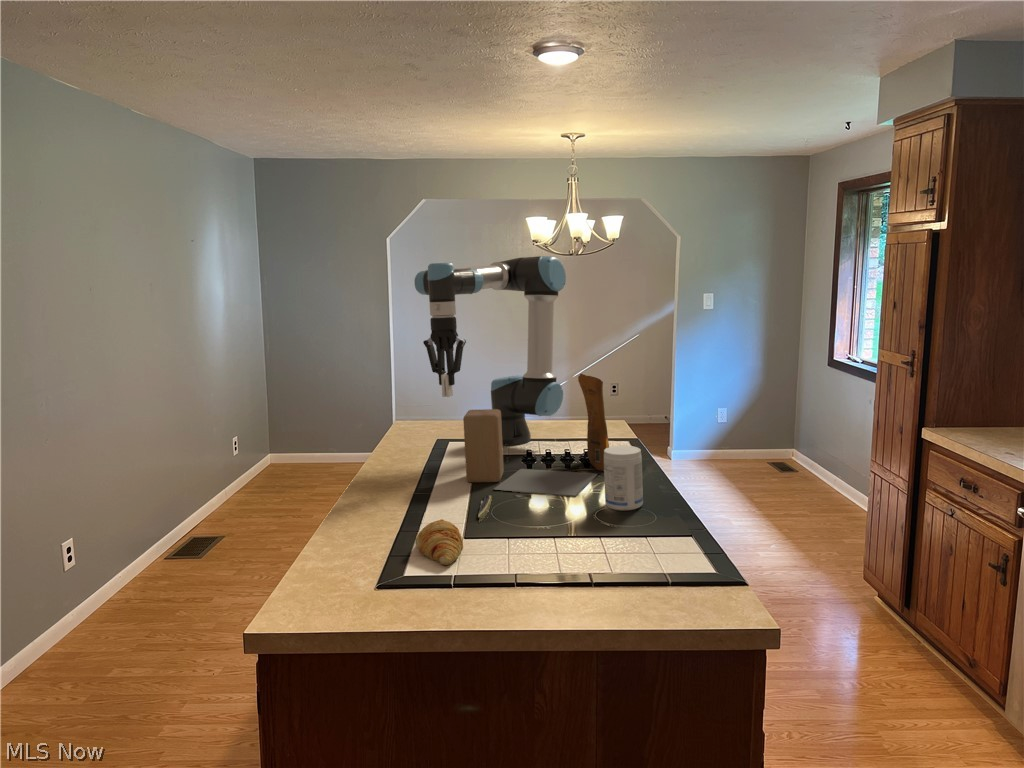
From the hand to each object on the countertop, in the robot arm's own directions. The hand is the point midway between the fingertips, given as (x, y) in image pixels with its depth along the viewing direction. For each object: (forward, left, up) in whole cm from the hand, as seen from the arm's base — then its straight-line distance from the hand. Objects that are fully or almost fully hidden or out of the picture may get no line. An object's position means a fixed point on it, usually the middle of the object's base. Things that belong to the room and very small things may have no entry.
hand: (447, 396), depth 222 cm
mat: (0, +30, -24) cm, 39 cm away
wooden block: (0, +11, -25) cm, 27 cm away
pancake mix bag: (-22, +39, -25) cm, 51 cm away
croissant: (+56, +24, -25) cm, 66 cm away
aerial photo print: (+25, +29, -25) cm, 46 cm away
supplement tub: (+15, +56, -25) cm, 63 cm away
